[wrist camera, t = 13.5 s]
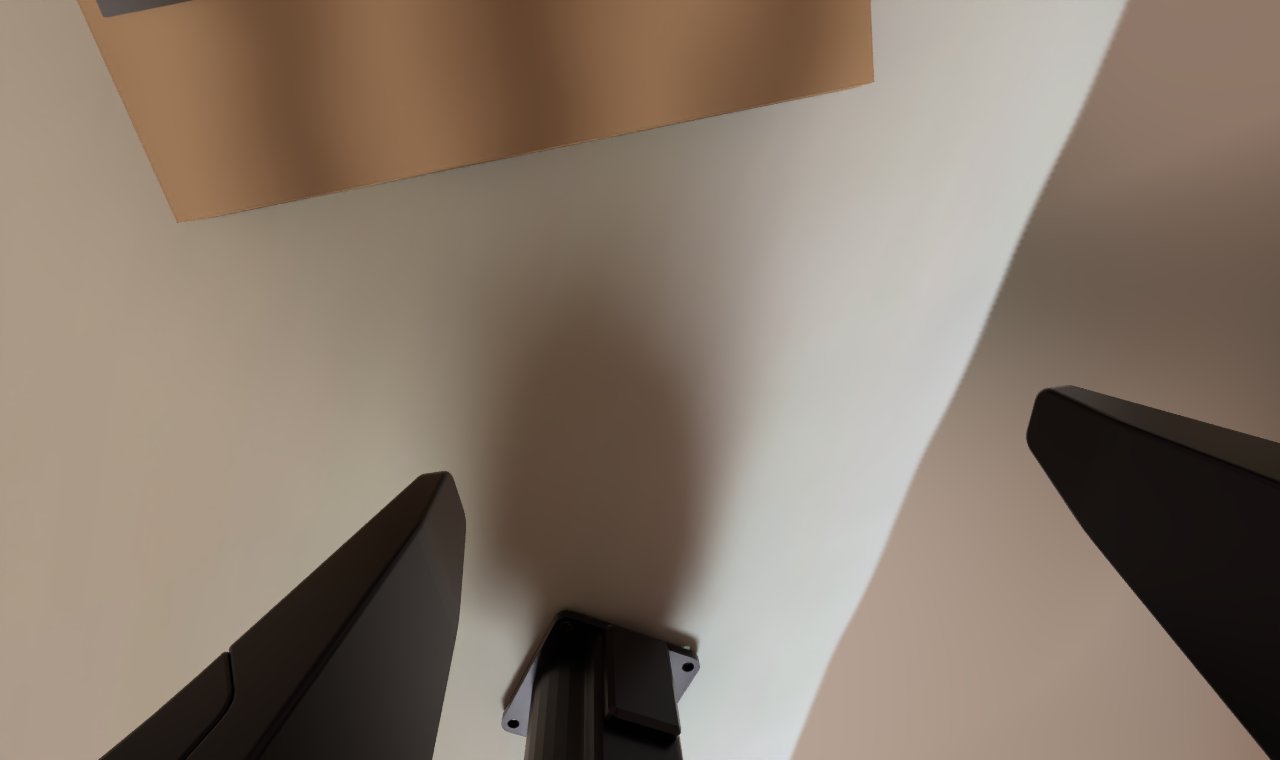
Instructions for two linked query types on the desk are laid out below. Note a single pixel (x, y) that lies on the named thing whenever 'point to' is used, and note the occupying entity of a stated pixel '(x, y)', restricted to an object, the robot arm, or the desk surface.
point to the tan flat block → (441, 81)
